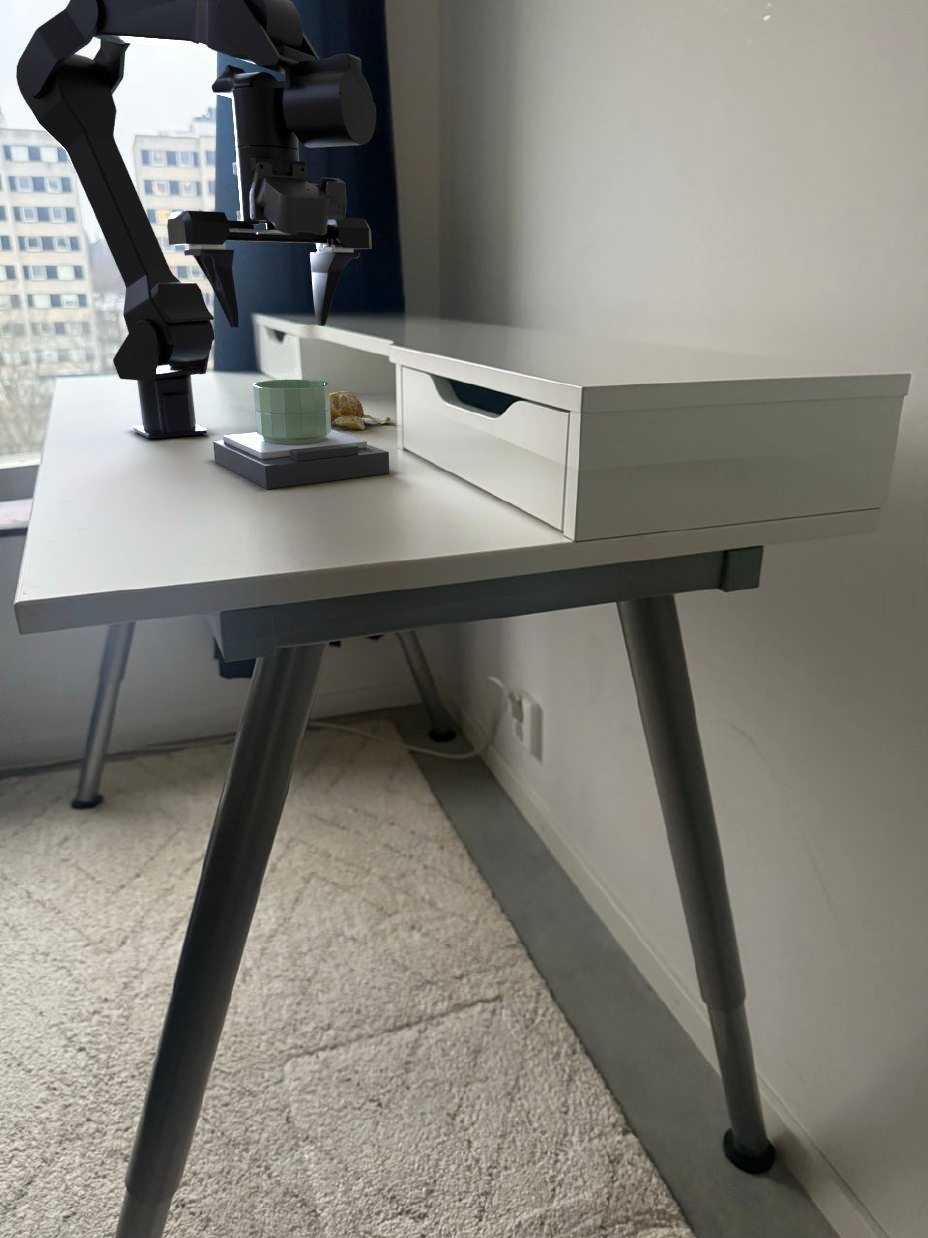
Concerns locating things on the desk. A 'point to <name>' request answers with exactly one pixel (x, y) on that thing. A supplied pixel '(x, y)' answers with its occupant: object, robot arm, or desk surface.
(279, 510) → the desk surface
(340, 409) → the fruit
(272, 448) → the scale
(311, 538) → the desk surface
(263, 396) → the bowl
